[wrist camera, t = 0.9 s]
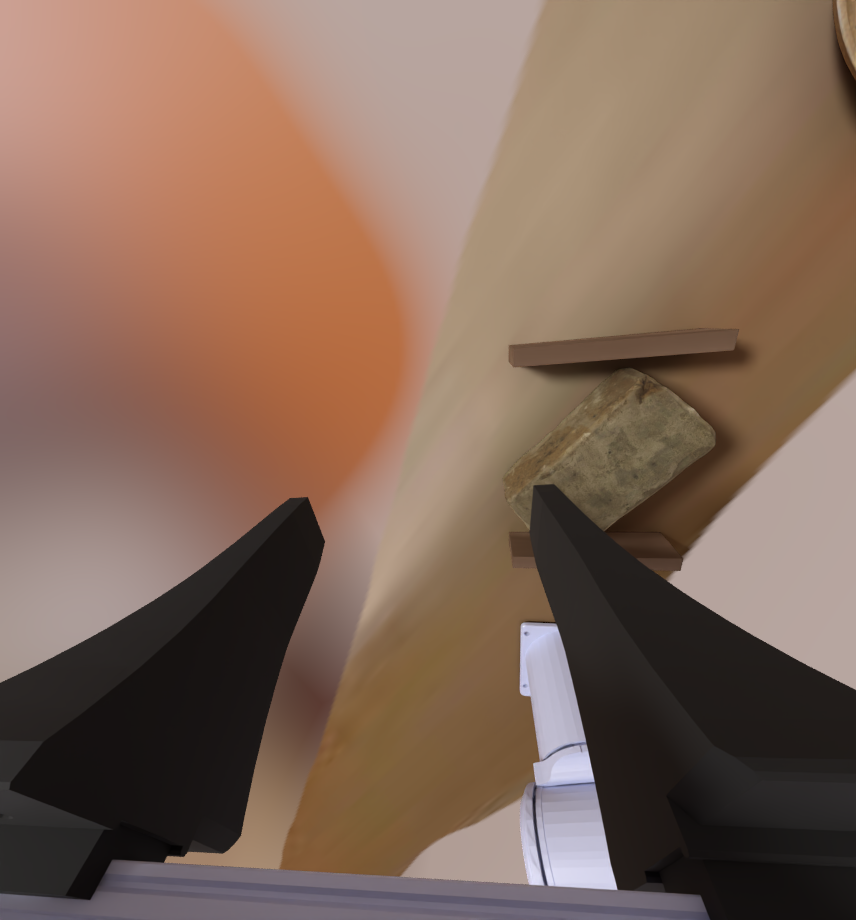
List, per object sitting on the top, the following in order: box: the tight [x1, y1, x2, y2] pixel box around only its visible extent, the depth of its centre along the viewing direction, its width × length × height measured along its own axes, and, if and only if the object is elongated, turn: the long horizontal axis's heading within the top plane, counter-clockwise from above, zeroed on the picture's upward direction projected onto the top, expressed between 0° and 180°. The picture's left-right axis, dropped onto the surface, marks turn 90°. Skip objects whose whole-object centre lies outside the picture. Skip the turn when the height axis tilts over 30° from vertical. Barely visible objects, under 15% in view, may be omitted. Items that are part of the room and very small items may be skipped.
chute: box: [509, 328, 739, 571], centre depth 22 cm, size 15×11×3 cm
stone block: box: [503, 367, 716, 531], centre depth 21 cm, size 6×12×5 cm, turn 142°
